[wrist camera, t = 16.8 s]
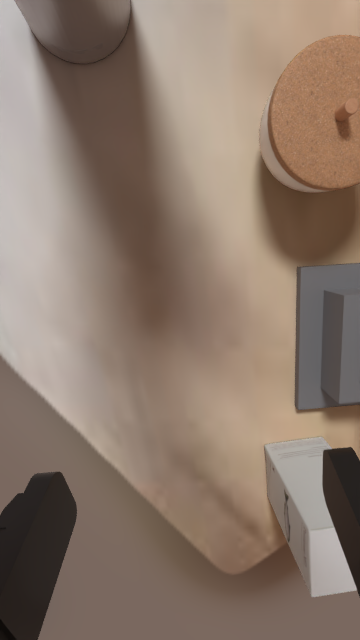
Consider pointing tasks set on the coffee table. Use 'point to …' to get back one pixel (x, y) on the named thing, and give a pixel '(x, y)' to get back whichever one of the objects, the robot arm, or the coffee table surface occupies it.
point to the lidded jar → (315, 118)
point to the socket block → (327, 336)
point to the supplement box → (306, 514)
